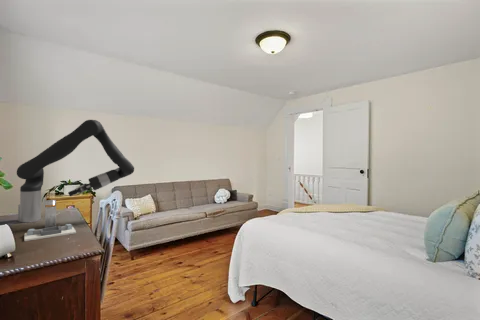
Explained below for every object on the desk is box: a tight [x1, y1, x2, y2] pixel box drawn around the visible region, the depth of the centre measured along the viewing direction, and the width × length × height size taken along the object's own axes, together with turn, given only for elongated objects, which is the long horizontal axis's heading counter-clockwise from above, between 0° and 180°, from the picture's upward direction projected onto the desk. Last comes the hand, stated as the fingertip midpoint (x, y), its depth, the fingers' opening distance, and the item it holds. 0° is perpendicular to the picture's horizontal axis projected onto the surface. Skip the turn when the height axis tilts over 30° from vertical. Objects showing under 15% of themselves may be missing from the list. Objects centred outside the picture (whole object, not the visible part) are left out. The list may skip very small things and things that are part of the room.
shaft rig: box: [23, 223, 77, 242], centre depth 118 cm, size 19×11×3 cm, turn 131°
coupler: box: [44, 199, 57, 228], centre depth 129 cm, size 5×5×14 cm
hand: (68, 194), depth 134 cm, fingers open, 8 cm apart
